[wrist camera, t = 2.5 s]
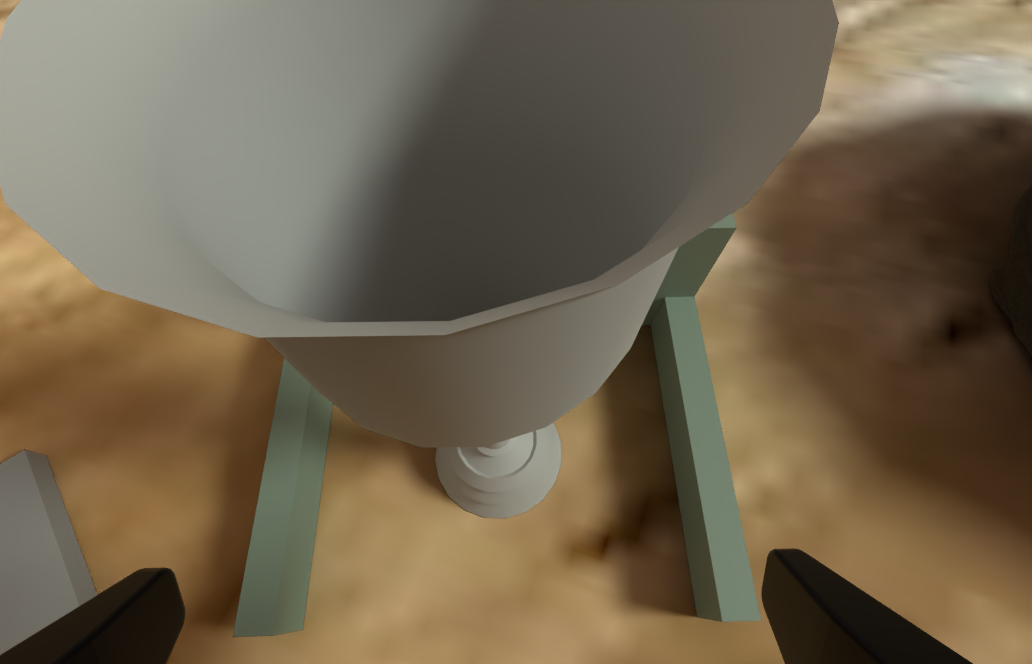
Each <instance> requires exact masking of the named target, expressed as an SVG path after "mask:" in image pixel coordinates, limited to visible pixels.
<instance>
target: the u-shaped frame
mask: <svg viewBox="0 0 1032 664" xmlns="http://www.w3.org/2000/svg"><path fill="white" fill-rule="evenodd" d="M735 229H736V224H735V220H734V216H733V213H731V214H730V215H728V216H727V217H725V218H724V219H722V220H720V221H719V222H717V223H716V224H714V225H713V226H711V227H709V228H708V229H706V230H705V231H703V232H701V233H700V234H698V235H697V236H695V237H694V238H692V239H690V240H689V241H687V242H686V243H684V244H683V245H681V246H679V248H678V250H677V252H676V254H675V256H674V258H673V260H672V262H671V265H670V267H669V269H668V271H667V273H666V275H665V277H664V279H663V281H662V283H661V286H660V288H659V290H658V292H657V294H656V296H655V298H654V300H653V302H652V304H651V307H650V309H649V311H648V313H647V315H646V317H645V319H644V321H643V323H642V325H651V331H652V337H653V343H654V349H655V356H656V362H657V368H658V375H659V381H660V387H661V393H662V400H663V406H664V412H665V419H666V425H667V431H668V437H669V444H670V450H671V456H672V463H673V469H674V475H675V481H676V488H677V494H678V500H679V507H680V513H681V519H682V526H683V532H684V538H685V544H686V551H687V557H688V563H689V570H690V576H691V582H692V588H693V595H694V601H695V607H696V614H697V617H699V618H704V619H710V620H715V621H721V622H731V621H761V617H760V612H759V607H758V603H757V598H756V593H755V588H754V583H753V578H752V573H751V569H750V564H749V559H748V554H747V549H746V544H745V540H744V535H743V530H742V525H741V520H740V515H739V510H738V506H737V501H736V496H735V491H734V486H733V481H732V477H731V472H730V467H729V462H728V457H727V452H726V447H725V443H724V438H723V433H722V428H721V423H720V418H719V414H718V409H717V404H716V399H715V394H714V389H713V384H712V380H711V375H710V370H709V365H708V360H707V355H706V351H705V346H704V341H703V336H702V331H701V326H700V321H699V317H698V312H697V307H696V302H695V297H694V296H695V295H696V293H697V291H698V290H699V288H700V286H701V285H702V283H703V282H704V280H705V278H706V277H707V275H708V273H709V272H710V270H711V269H712V267H713V265H714V264H715V262H716V260H717V259H718V257H719V255H720V254H721V252H722V251H723V249H724V247H725V246H726V244H727V242H728V241H729V239H730V237H731V236H732V234H733V233H734V231H735ZM332 406H333V403H332V402H330V401H329V400H328V399H327V398H326V397H324V396H323V395H322V394H321V393H320V392H319V391H318V390H317V389H316V388H314V387H313V386H312V385H311V384H310V383H309V382H308V381H307V380H306V379H305V378H304V377H303V376H302V375H301V374H300V373H299V372H298V371H297V370H296V369H295V368H294V367H293V366H292V365H291V364H290V363H289V362H288V361H287V360H286V359H285V358H284V361H283V366H282V372H281V377H280V383H279V388H278V394H277V399H276V404H275V410H274V415H273V421H272V426H271V432H270V437H269V442H268V448H267V453H266V459H265V464H264V469H263V475H262V480H261V486H260V491H259V497H258V502H257V507H256V513H255V518H254V524H253V529H252V535H251V540H250V545H249V551H248V556H247V562H246V567H245V573H244V578H243V583H242V589H241V594H240V600H239V605H238V611H237V616H236V621H235V627H234V632H233V637H253V636H274V635H279V634H284V633H289V632H293V631H298V630H303V623H304V616H305V609H306V601H307V594H308V586H309V579H310V571H311V564H312V556H313V549H314V541H315V534H316V526H317V519H318V511H319V504H320V496H321V489H322V481H323V474H324V466H325V459H326V451H327V444H328V436H329V429H330V421H331V414H332Z"/></svg>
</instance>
